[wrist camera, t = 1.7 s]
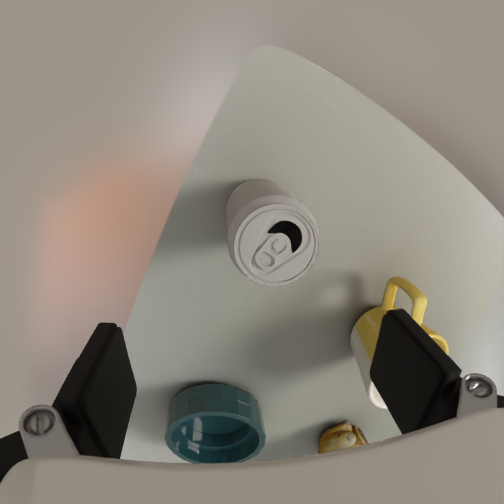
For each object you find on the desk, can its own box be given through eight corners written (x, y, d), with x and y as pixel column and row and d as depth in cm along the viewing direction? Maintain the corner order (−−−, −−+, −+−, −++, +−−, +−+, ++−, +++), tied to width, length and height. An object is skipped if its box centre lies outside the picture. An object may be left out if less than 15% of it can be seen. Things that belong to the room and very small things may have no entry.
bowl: (175, 435, 42) (173, 465, 36) (163, 377, 37) (157, 410, 32) (258, 434, 43) (262, 464, 37) (262, 377, 39) (268, 409, 33)
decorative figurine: (369, 430, 46) (400, 494, 32) (331, 453, 47) (354, 518, 33) (343, 411, 43) (376, 486, 29) (302, 437, 44) (323, 512, 30)
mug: (390, 357, 40) (424, 405, 30) (327, 357, 39) (354, 413, 29) (425, 270, 36) (475, 306, 26) (360, 259, 35) (406, 301, 25)
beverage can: (301, 205, 32) (344, 239, 21) (260, 252, 33) (281, 308, 22) (253, 165, 30) (273, 176, 19) (212, 215, 31) (207, 255, 20)
